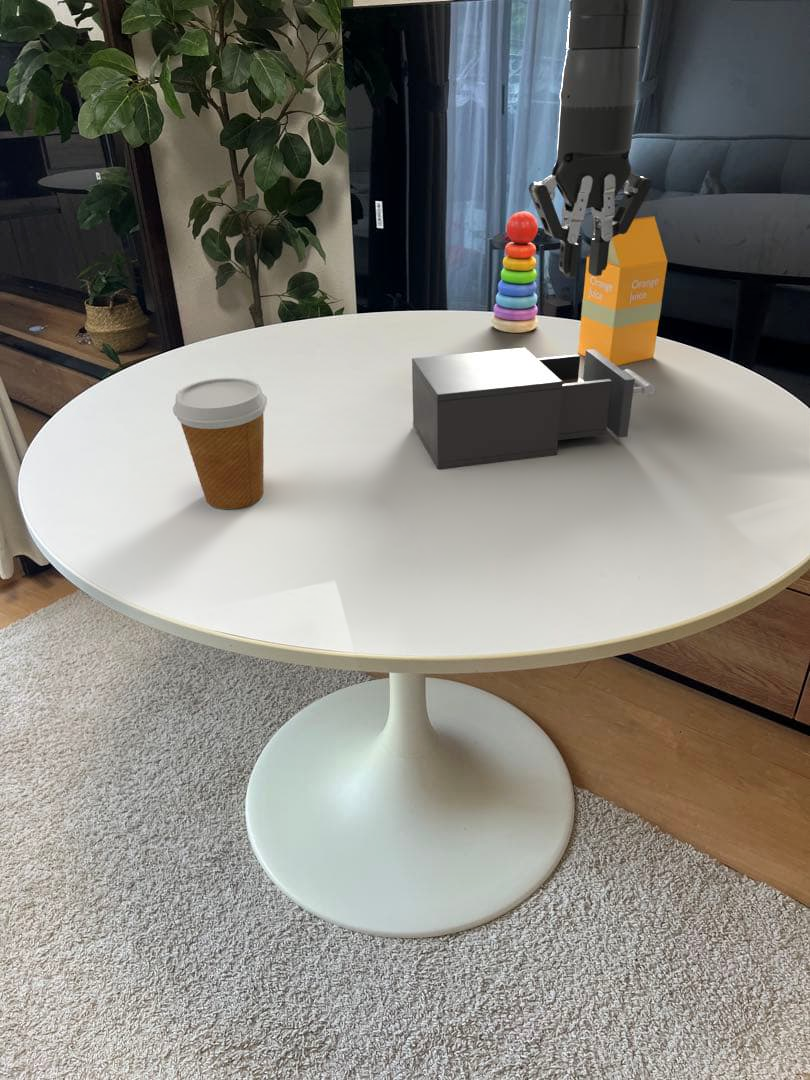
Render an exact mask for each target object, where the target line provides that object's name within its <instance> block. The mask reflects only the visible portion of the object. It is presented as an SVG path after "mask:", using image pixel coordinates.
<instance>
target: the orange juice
mask: <svg viewBox="0 0 810 1080" xmlns="http://www.w3.org/2000/svg"><path fill="white" fill-rule="evenodd" d="M655 217H656V216H655V215H651V216H644V217H637V218H636V217H635V218H634V220H633V222H632V224H631V225H630V227H629V229H628V231H627V232H626V233H625V234H618V235H616V236H614V237H613V238H612V239H611V240H610V243H609V252H608V261H607V267H606V269H605V270H602V275H601V276H593V275H591V274H590V273H589V270H588V268H589V258H590V253H589V254H588V255H587V257H586V263H585V274H584V285H583V297H582V302H581V303H582V304H581V314H580V316H581V317H580V328H579V329H580V330H579V339H578V351H577V354H578V355H580V356H582V357H585V354H586V350H592V349H595V350H596V351H597V352H599V353H600V354H601V355H603V356H604V357H605V358H607V359H608V360H609V361H611V362H612V363H614V364H615V365H616V366H621V365H625V364H630V363H635V362H639V361H640V362H641V361H644V360H648V359H653V358H654V356H655V350H656V342H657V336H658V330H659V329H658V327H659V322H660V319H661V318H660V317H661V311H662V304H663V295H664V287H665V281H666V274H667V267H668V259H667V255H666V251H665V248H664V245H663V242H662V239H661V234H660V231H659V227H658V224H657V221H656V218H655Z"/></svg>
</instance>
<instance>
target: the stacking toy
mask: <svg viewBox="0 0 810 1080" xmlns="http://www.w3.org/2000/svg"><path fill="white" fill-rule="evenodd" d="M538 231H539V224H538V220H537V218H536V217H535V216H534V214H532V213H531V212H528V211H518V212H515V213H514V214H512V215H511V216H510V217H509V219H508V221H507V223H506V235H507V237H508V239H509V240H510V242H508V243H507V244H506V245H505V247H504V253H505V254H506V256H504V258H503V259H502V265H503V268H502V270H501V272H500V278H501V280H500V281H499V282H498V283H497V290H498V292H497V293H496V295H495V305H494V306H493V314H494V315H493V316H492V318H491V324H492V326H493V328H494V329H496V330H498V331H500V332H505V333H511V334H512V333H514V334H516V333H517V334H519V333H526V332H530V331H532V330H534V329H536V328H537V326H538V325H539V319H538V317H537V314H538V312H539V311H538V306H537V305H536V304H537V303H538V296H537V293H536V291H537V288H538V286H537V282H536V281H535V280H536V279H537V276H538V272H537V270H536V269H535V268H536V266H537V260H536V258H535V254H536V253H537V248H536V245H535V244H534V243H532V241H533V240H534V239H535V238H536V237H537V234H538Z"/></svg>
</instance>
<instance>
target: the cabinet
mask: <svg viewBox="0 0 810 1080" xmlns="http://www.w3.org/2000/svg"><path fill="white" fill-rule="evenodd" d="M537 358H538V357H536V356H535V355H534V354H533V353H532V352H530V351H529V350H528V349H527V348H526V347H517V348H506V349H496V350H487V351H486V350H485V351H474V352H463V353H454V354H445V355H434V356H422V357H414V358H411V370H412V371H411V375H412V376H411V379H412V380H411V381H412V383H411V384H412V385H411V386H412V427H413V429H414V431H415V432H416V434H417V436H418V438H419V439H420V441H421V443H422V445H423V446H424V448H425V450H426V451H427V453H428V455H429V457H430V458H431V460H432V462H433V464H434V466H435V467H436V469H437V470H443V469H451V468H459V467H468V466H474V465H484V464H490V463H491V464H492V463H500V462H508V461H516V460H523V459H524V460H525V459H532V458H541V457H542V458H543V457H549V456H557V455H558V454H557V453H558V444H559V440H558V432H559V420H560V409H561V397H562V384H563V382H562V381H561V380H560V379H559V378H558V377H557V376H556V375H555V374H554V373H552V372H551V371H550V370H549V369H548V368H547V367H546V366H545V365H544V364H542V363H541V362H540V361H539V360H538V359H537Z"/></svg>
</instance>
